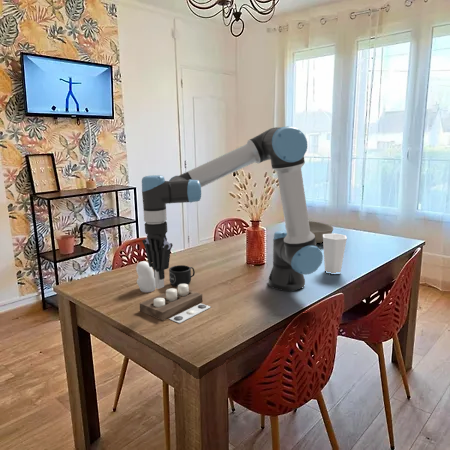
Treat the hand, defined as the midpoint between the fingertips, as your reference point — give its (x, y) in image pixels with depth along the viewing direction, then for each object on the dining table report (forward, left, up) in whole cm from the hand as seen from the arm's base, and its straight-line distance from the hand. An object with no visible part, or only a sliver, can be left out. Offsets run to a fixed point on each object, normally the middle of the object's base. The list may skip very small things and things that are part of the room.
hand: (160, 287), depth 137 cm
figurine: (+20, -11, -10) cm, 25 cm away
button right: (0, -12, -7) cm, 14 cm away
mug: (+13, -25, -10) cm, 30 cm away
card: (-9, -6, -9) cm, 14 cm away
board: (0, -6, -9) cm, 11 cm away
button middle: (0, -6, -7) cm, 9 cm away
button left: (0, 0, -9) cm, 9 cm away
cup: (-31, -77, -10) cm, 83 cm away
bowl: (+3, -120, -10) cm, 120 cm away
